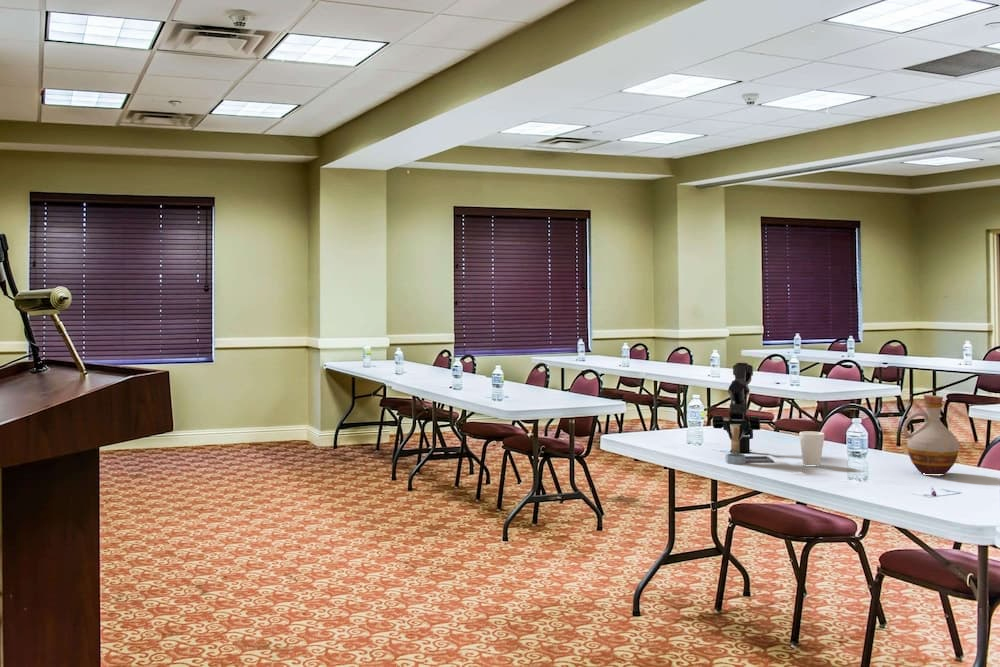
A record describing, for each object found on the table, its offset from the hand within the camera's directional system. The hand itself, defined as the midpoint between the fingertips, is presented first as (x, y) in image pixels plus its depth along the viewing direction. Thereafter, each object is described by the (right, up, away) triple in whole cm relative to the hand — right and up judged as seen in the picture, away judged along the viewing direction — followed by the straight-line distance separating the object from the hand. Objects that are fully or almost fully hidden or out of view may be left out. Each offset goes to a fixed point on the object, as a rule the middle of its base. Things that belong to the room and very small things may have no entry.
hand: (735, 439), depth 367 cm
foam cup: (+31, -11, 0) cm, 32 cm away
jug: (+69, -11, -20) cm, 73 cm away
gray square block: (+1, -11, +2) cm, 11 cm away
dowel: (+1, -6, +2) cm, 6 cm away
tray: (+11, -10, +6) cm, 16 cm away
